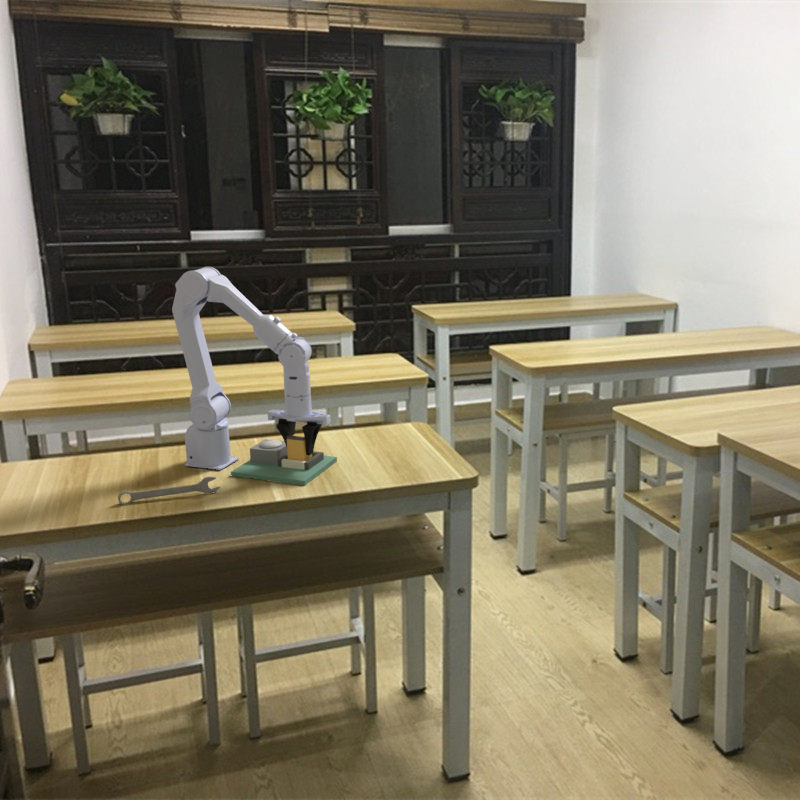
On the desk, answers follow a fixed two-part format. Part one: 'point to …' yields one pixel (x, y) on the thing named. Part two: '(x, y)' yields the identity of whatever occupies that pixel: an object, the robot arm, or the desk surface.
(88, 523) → the desk surface
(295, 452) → the plug
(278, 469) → the board
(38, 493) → the desk surface
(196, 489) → the combination wrench
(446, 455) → the desk surface
